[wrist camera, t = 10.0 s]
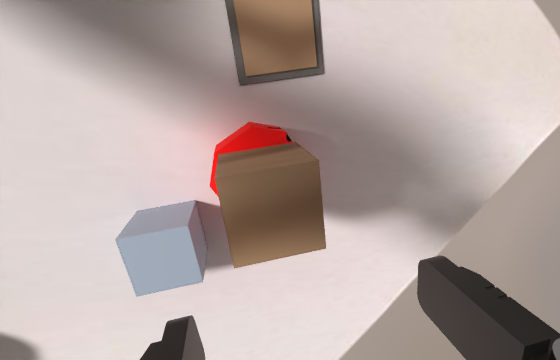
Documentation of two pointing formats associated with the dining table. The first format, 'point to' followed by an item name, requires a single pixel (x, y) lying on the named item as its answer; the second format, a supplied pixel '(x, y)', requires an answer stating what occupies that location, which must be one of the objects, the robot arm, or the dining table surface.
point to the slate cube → (164, 248)
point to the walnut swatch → (275, 39)
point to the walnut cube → (270, 203)
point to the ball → (248, 142)
